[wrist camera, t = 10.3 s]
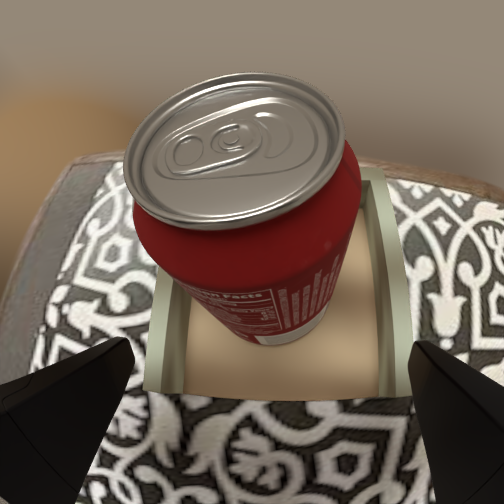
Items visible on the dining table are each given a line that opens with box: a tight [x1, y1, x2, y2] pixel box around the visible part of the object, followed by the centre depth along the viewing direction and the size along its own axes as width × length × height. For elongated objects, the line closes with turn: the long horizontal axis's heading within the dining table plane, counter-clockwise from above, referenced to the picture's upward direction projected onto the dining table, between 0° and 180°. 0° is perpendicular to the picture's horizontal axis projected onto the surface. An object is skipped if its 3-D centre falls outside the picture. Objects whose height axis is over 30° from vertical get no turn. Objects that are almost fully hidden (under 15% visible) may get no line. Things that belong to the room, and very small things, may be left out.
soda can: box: [123, 72, 362, 346], centre depth 12 cm, size 7×7×12 cm
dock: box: [143, 168, 413, 401], centre depth 16 cm, size 13×13×4 cm
